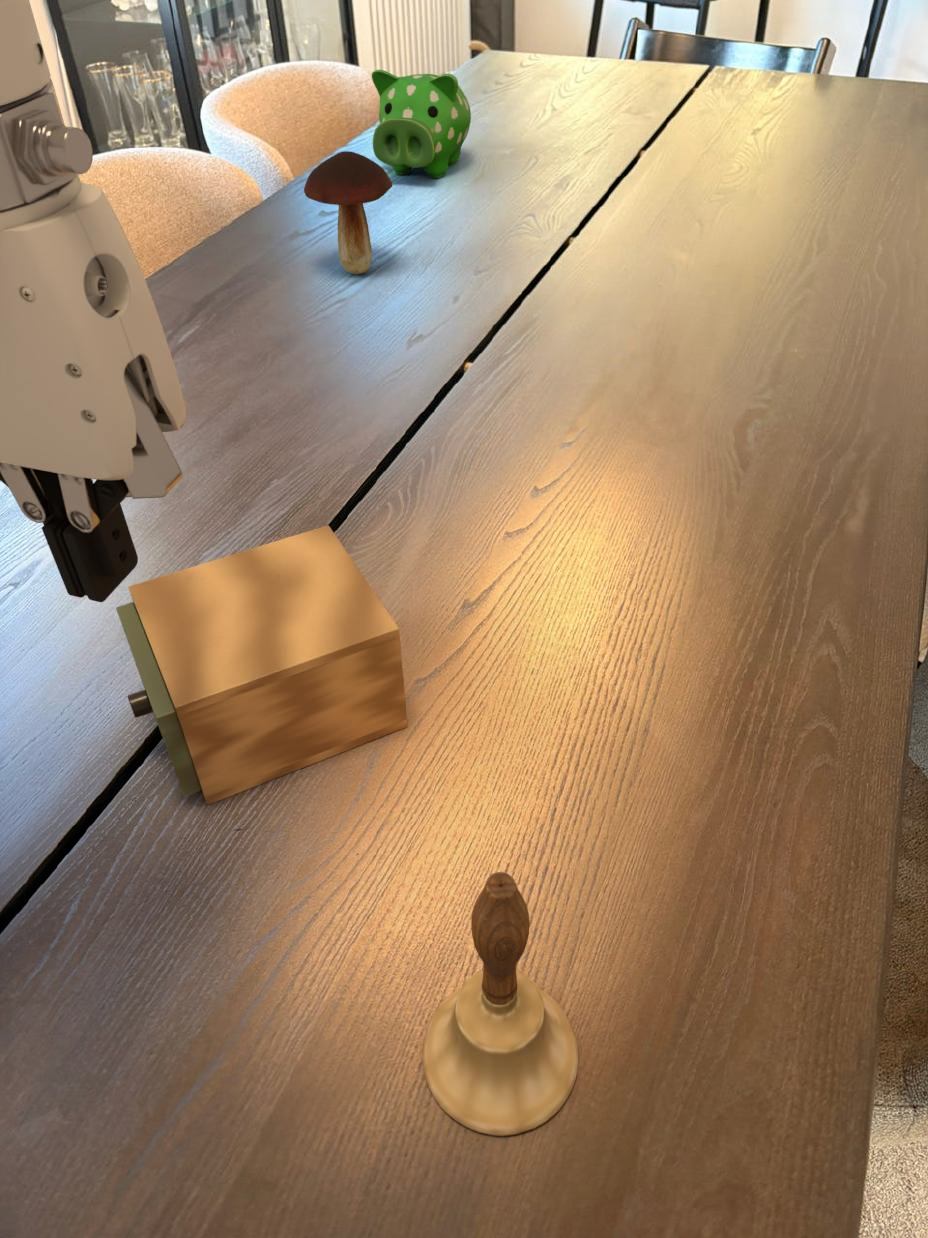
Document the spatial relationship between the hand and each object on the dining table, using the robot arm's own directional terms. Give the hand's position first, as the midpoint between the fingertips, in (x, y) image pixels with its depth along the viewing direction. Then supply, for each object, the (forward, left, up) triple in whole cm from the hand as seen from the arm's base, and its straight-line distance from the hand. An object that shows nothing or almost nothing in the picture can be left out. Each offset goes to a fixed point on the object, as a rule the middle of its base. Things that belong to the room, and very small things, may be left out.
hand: (105, 579), depth 44 cm
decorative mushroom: (+76, +51, -24) cm, 94 cm away
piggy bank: (+114, +68, -24) cm, 134 cm away
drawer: (+11, +7, -23) cm, 26 cm away
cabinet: (+13, +6, -24) cm, 27 cm away
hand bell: (+1, -21, -24) cm, 32 cm away
